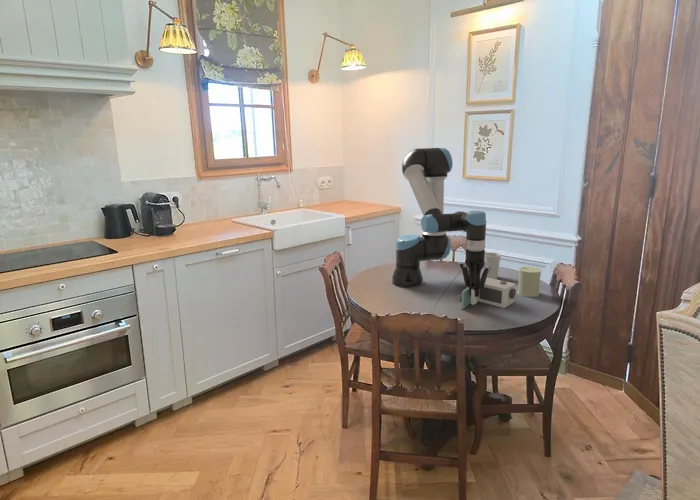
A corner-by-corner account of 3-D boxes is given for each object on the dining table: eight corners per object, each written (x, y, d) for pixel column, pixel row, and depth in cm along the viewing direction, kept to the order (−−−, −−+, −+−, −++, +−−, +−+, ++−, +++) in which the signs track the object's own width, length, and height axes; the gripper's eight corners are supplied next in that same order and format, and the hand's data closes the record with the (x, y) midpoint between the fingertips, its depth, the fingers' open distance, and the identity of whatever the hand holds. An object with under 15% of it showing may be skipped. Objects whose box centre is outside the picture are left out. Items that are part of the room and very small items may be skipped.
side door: (470, 299, 202) (471, 283, 200) (474, 300, 200) (475, 283, 199) (458, 308, 192) (459, 291, 190) (463, 308, 191) (464, 292, 189)
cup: (501, 276, 233) (502, 253, 230) (496, 280, 226) (498, 257, 223) (485, 274, 237) (486, 251, 234) (480, 278, 231) (482, 255, 228)
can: (523, 288, 214) (525, 264, 211) (542, 293, 208) (544, 268, 205) (513, 293, 208) (515, 268, 205) (533, 298, 202) (535, 272, 199)
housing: (474, 300, 201) (475, 280, 199) (484, 294, 207) (485, 275, 205) (506, 308, 191) (508, 287, 189) (516, 302, 197) (517, 282, 195)
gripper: (456, 248, 188) (455, 302, 194) (485, 253, 179) (483, 309, 185) (465, 245, 193) (464, 297, 199) (494, 249, 184) (492, 304, 190)
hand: (473, 303), depth 192 cm, fingers closed
